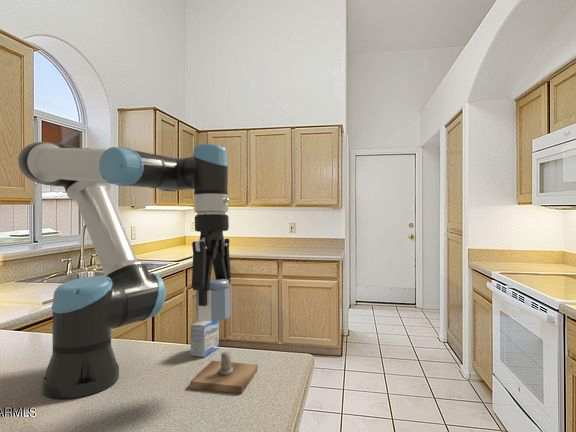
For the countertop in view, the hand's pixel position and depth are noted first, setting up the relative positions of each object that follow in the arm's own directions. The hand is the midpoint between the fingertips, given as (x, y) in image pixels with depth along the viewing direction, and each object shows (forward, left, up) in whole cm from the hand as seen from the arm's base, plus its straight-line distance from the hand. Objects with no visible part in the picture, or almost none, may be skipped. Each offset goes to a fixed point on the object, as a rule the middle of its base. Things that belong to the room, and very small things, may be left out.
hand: (213, 315), depth 82 cm
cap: (0, 0, 0) cm, 0 cm away
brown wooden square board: (+1, +4, -16) cm, 16 cm away
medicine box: (-11, +19, -16) cm, 27 cm away
